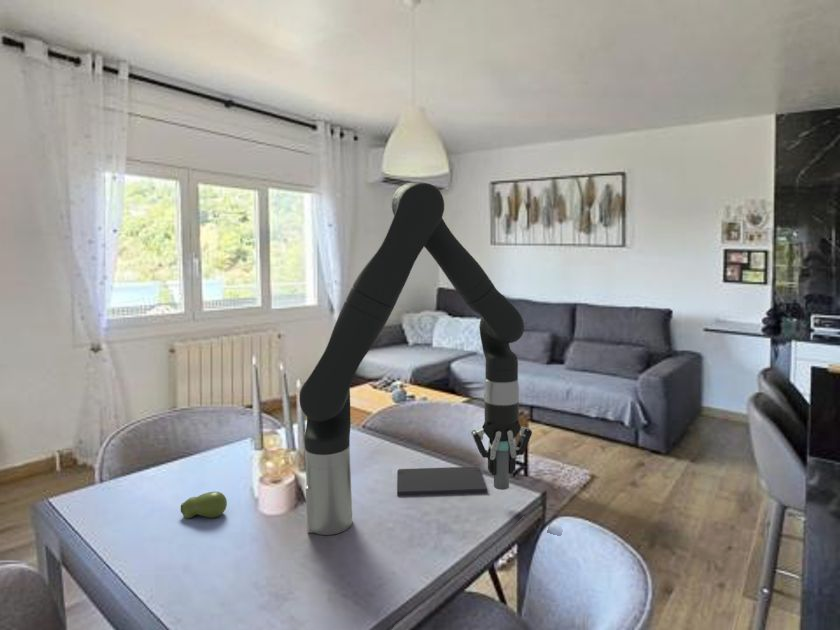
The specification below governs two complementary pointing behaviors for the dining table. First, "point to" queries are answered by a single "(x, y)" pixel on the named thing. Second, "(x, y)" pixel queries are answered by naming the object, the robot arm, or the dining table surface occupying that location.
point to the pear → (204, 505)
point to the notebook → (440, 481)
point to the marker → (502, 466)
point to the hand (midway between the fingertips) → (501, 472)
